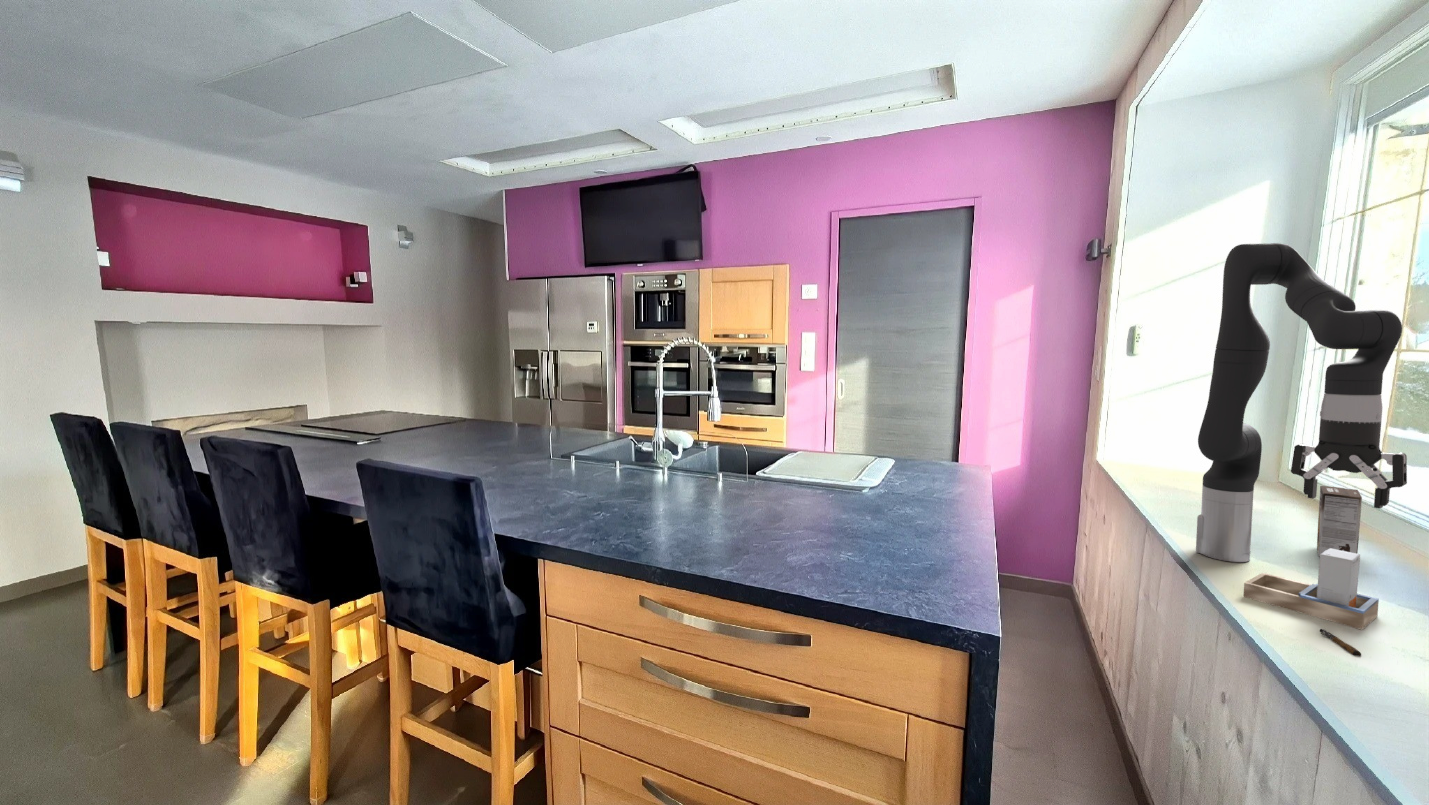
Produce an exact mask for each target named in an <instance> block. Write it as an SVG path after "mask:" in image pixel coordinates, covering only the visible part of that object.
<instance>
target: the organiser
mask: <svg viewBox="0 0 1429 805" xmlns="http://www.w3.org/2000/svg"><path fill="white" fill-rule="evenodd" d="M1317 587H1318V583H1316V584H1314V583H1312V584H1309V583H1307V582H1302V581H1298V580H1295V579H1294V580H1293V579H1290V578H1285V577H1281V576H1277V575H1273V574H1269V573H1267V572H1266V573H1265V572H1261V573H1259V574H1257V575H1255V576H1253V577H1252V578H1250V579H1249V580H1246V581H1245V582H1244V583H1243V596H1244V598H1246V599H1250V598H1251V599H1252V600H1255V601H1257V602H1262V603H1265V604H1269V605H1272V606H1276V607H1280V608H1283V609H1286V610H1290V611H1294V612H1298V613H1299V614H1300V613H1301V614H1304V615H1308V616H1312V617H1315V618H1319V619H1322V620H1327V621H1329V622H1333V623H1336V624H1340V625H1344V626H1348V627H1351V628H1354V629H1359V630H1361V631H1363V630H1364V629H1365V628H1366V627H1368V625H1370V623H1371V622H1373V621H1374V620H1375V619H1376V618H1377V617H1378V614H1379V613H1378V612H1379V600H1380V599H1379V598H1377V597H1374V596H1373V597H1372V596H1369V595H1365V594H1361V593H1358V592H1357V599H1356V608H1354V607H1350V606H1346V605H1343V604H1339V603H1335V602H1331V601H1327V600H1323V599H1319V598H1317Z"/></svg>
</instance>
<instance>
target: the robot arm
mask: <svg viewBox="0 0 1429 805" xmlns="http://www.w3.org/2000/svg"><path fill="white" fill-rule="evenodd" d="M1223 266H1224V268H1223V277H1222V298H1221V299H1222V303H1221V314H1220V323H1219V328H1218V336H1217V341H1216V345H1215V351H1214V356H1213V357H1214V358H1213V366H1212V374H1211V380H1210V386H1209V392H1208V400H1207V405H1206V408H1205V412H1204V415H1203V419H1202V422H1201V426H1200V428H1199V432H1198V437H1197V445H1198V448H1199V450H1200V453H1201V454H1202V455H1203V457H1206V459H1208V460H1210V461H1212V464H1211V466H1210V468H1209V469H1208V470H1207V471H1206V472H1205V473H1204V474H1203V475H1202V487H1201V488H1202V489H1201V490H1202V491H1201V492H1202V493H1201V510H1200V514H1199V515H1197V517H1196V537H1195V538H1196V540H1195V541H1196V542H1195V553H1197V554H1201V555H1203V556H1206V557H1209V558H1211V559H1215V560H1220V561H1225V562H1232V563H1246V562H1249V561H1250V559H1251V552H1252V551H1251V545H1252V528H1253V527H1252V526H1253V510H1254V509H1253V508H1254V492H1255V491H1254V490H1255V483H1256V482H1257V480H1258V478H1259V476H1260V469H1261V460H1262V450H1263V449H1262V448H1263V447H1262V446H1263V445H1262V438H1261V435H1260V433H1259V432H1258V430H1257V429H1256V428H1254V427H1253V426H1252V425H1251V424H1247V423H1245V422H1244V418H1245V413H1246V408H1247V405H1248V403H1249V401H1250V399H1251V398H1252V396H1253V394H1254V392H1255V391H1256V389H1257V387H1258V386H1259V384H1260V383H1261V381H1262V379H1263V377H1264V375H1265V372H1266V370H1267V366H1268V361H1269V360H1268V359H1269V354H1270V349H1271V348H1270V347H1271V342H1270V337H1269V334H1268V333H1267V332H1266V330H1265V328H1264V327H1263V325H1262V323H1261V322H1260V320H1259V319H1258V317H1257V316H1256V314H1255V313H1254V310H1253V307H1252V303H1251V287H1252V286H1254V285H1257V286H1258V285H1263V286H1264V285H1265V286H1266V285H1272V284H1273V285H1279V286H1280V287H1284V288H1286V291H1285V295H1284V299H1285V303H1286V305H1287V306H1288V308H1289V309H1290V310H1291V311H1292V312H1293V313H1294V314H1295V315H1297V316H1298V317H1300V318H1301V319H1302V320H1303V321H1305V322H1306V323H1307V325H1308V328H1309V330H1310V331H1311V334H1312V337H1313V338H1314V340H1315V342H1317V343H1318V344H1319V345H1320V346H1323V347H1325V348H1327V349H1332V350H1355V349H1356V350H1357V351H1356V353H1355V354H1354V355H1353V357H1352V358H1351V359H1348V360H1344V361H1339V362H1334V363H1331V364H1329V365H1327V368H1326V370H1325V375H1324V376H1325V378H1324V379H1325V380H1324V393H1323V398H1322V401H1321V408H1320V410H1319V416H1320V419H1319V420H1320V421H1319V430H1318V431H1319V433H1318V434H1319V435H1318V444H1317V445H1316V446H1315V445H1308V444H1306V443H1299V444H1296V445H1295V446H1294V448H1293V449H1294V450H1293V453H1292V454H1293V455H1292V460H1291V468H1290V473H1291V474H1292V475H1297V476H1300V477H1302V478H1303V494H1304V495H1306V496H1307V499H1311V500H1312V499H1313V500H1314V499H1316V497H1317V494H1318V493H1317V492H1318V491H1317V490H1318V481H1319V480H1318V479H1319V478H1316V477H1317V476H1319V475H1320V474H1321V473H1323V472H1325V471H1326V470H1327V469H1330V470H1332V471H1336V472H1342V471H1343V472H1344V471H1345V472H1348V473H1353V474H1354V473H1355V474H1359V473H1363V474H1364V475H1365V476H1366V477H1367V478H1368V479H1370V481H1371V482H1373V483H1374V485H1375V486H1376V487H1375V489H1374V490H1375V491H1374V502H1373V508H1374V509H1382V508H1383V507H1385V506H1387V505H1388V504H1389V502H1390V492H1391V489H1392V488H1401V487H1403V486H1405V485H1407V484H1408V472H1407V471H1408V470H1407V468H1408V466H1407V464H1408V462H1407V460H1408V458H1407V454H1406V453H1405V452H1397V453H1393V452H1392V453H1391V452H1382V451H1381V448H1380V443H1381V442H1380V441H1381V432H1382V430H1381V429H1382V418H1383V403H1382V402H1383V400H1382V392H1383V381H1384V379H1383V377H1384V376H1383V375H1384V372H1385V370H1386V368H1387V366H1388V364H1389V362H1390V359H1391V357H1392V355H1393V353H1394V352H1395V349H1396V347H1397V346H1398V343H1399V342H1400V340H1401V338H1402V337H1401V336H1402V333H1403V324H1402V320H1401V319H1400V318H1399V316H1398V315H1397V314H1396V313H1395V312H1393V311H1390V310H1388V309H1387V310H1386V309H1373V310H1372V309H1371V310H1370V309H1368V310H1356V303H1355V301H1354V300H1353V299H1352V298H1351V297H1350V296H1349V295H1348V294H1346V293H1344V292H1343V291H1341V290H1339V289H1338V288H1336V287H1335V286H1333V285H1331V284H1330V283H1328V282H1327V281H1326V280H1325V279H1323V278H1322V277H1321V276H1320V275H1319V274H1318V273H1317V272H1316V271H1315V269H1313V267H1312V266H1311V265H1310V264H1309V263H1308V262H1307V261H1306V259H1305V258H1304V257H1303V256H1302V255H1301V254H1300V253H1299V251H1297V249H1295V248H1294V247H1292V246H1291V245H1289V244H1286V243H1279V242H1273V243H1272V242H1269V243H1244V244H1243V243H1242V244H1237V245H1236V246H1234V247H1232V249H1231V250H1230V251H1229V253H1228V254H1227V256H1226V259H1225V262H1224V265H1223ZM1312 453H1314V454H1316V455H1317V457H1318V458H1319V459H1320V461H1319V462H1318V463H1317V464H1315V465H1314V466H1312V467H1311V468H1310V469H1305V464H1306V458H1307V457H1308V456H1310V455H1311V454H1312ZM1381 460H1385V461H1386V463H1387V464H1388V465H1389V466H1392V479H1390V480H1389V479H1388V478H1387V477H1386V476H1384V474H1383V472H1382V471H1381V470H1380V469H1379V468H1378V467H1377V466H1376V465H1375V464H1377V463H1378V462H1380V461H1381Z"/></svg>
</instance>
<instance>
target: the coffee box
mask: <svg viewBox="0 0 1429 805" xmlns="http://www.w3.org/2000/svg"><path fill="white" fill-rule="evenodd" d="M1319 489H1320V490H1319V502H1318V504H1319V505H1318V518H1317V520H1318V521H1317V536H1316V537H1317V538H1316V541H1317V542H1316V549H1317V554H1318V555H1317V556H1318V557H1319V556H1320V554H1322V553H1323V552H1324V551H1326V550H1328V549H1330V548H1332V549H1337V550H1341V551H1346V552H1351V553H1356V554H1359V553H1358V550H1359V539H1360V538H1359V537H1360V528H1361V527H1360V526H1361V517H1362V515H1361V514H1362V505H1363V504H1362V503H1363V497H1362V494H1361V493H1360V491H1359V490H1358V489H1352V488H1344V487H1337V486H1329V485H1328V486H1327V485H1320V486H1319Z"/></svg>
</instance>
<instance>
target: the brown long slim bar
mask: <svg viewBox="0 0 1429 805" xmlns="http://www.w3.org/2000/svg"><path fill="white" fill-rule="evenodd" d="M1319 632H1321V633H1320V634H1321V635H1322V636H1325V637H1328V638H1330V640H1331V641H1332V642H1334V643H1335V644H1337V645H1339V646H1340V647H1341V648H1342V649H1344V650H1345V651H1346V652H1348V653H1350V654H1351V655H1353V656H1355V657H1356V656H1357V657H1362V653H1361V652H1360V651H1359V650H1358V649H1356V648H1355V647H1354V646H1353V645H1350V644H1348V643H1346V642H1345V641H1343V640H1342V639H1340V638H1339V637H1338V636H1336V635H1334V634H1333V633H1331V632H1329V631H1327V630H1326V629H1323V628H1320V630H1319Z"/></svg>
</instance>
